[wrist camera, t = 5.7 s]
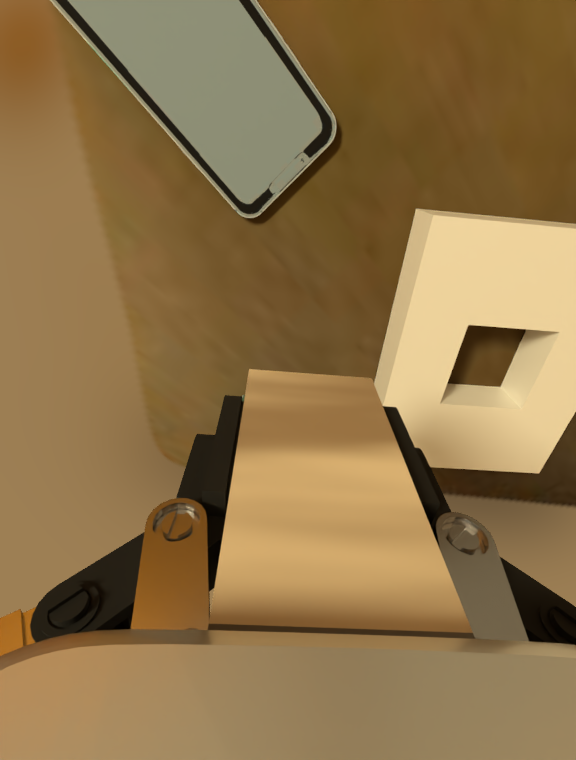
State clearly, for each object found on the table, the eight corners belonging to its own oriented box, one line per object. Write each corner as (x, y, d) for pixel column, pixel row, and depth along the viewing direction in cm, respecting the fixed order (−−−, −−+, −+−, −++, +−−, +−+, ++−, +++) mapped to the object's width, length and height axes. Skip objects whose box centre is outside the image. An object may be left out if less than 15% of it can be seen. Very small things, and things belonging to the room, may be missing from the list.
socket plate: (416, 208, 23) (433, 214, 20) (634, 229, 23) (677, 238, 21) (360, 438, 32) (367, 463, 29) (518, 448, 33) (539, 473, 30)
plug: (249, 369, 12) (203, 655, 5) (371, 378, 12) (485, 663, 5) (245, 461, 14) (208, 754, 7) (349, 467, 14) (411, 757, 7)
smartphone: (110, -219, 14) (345, 129, 20) (119, -201, 15) (343, 130, 21) (14, -38, 17) (248, 226, 23) (26, -30, 18) (249, 224, 23)
